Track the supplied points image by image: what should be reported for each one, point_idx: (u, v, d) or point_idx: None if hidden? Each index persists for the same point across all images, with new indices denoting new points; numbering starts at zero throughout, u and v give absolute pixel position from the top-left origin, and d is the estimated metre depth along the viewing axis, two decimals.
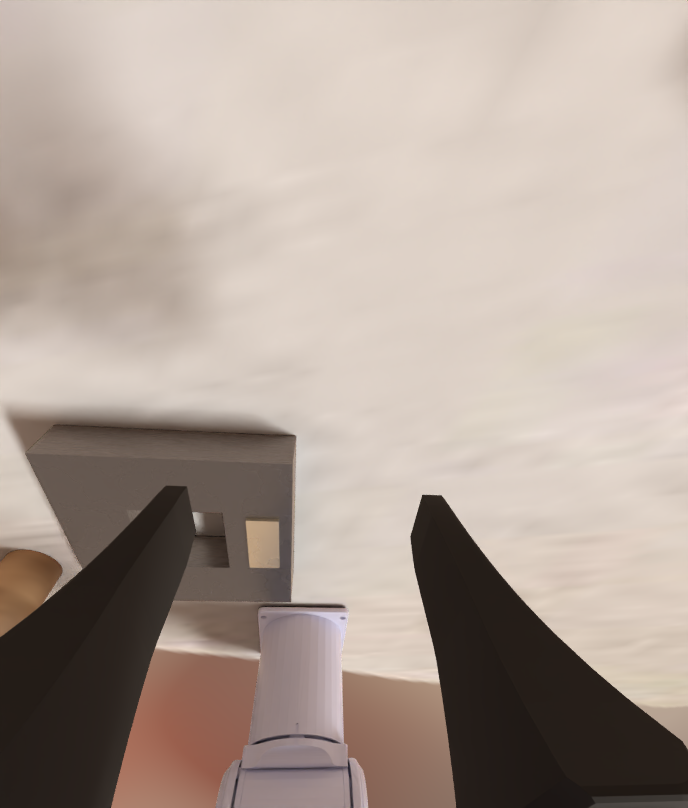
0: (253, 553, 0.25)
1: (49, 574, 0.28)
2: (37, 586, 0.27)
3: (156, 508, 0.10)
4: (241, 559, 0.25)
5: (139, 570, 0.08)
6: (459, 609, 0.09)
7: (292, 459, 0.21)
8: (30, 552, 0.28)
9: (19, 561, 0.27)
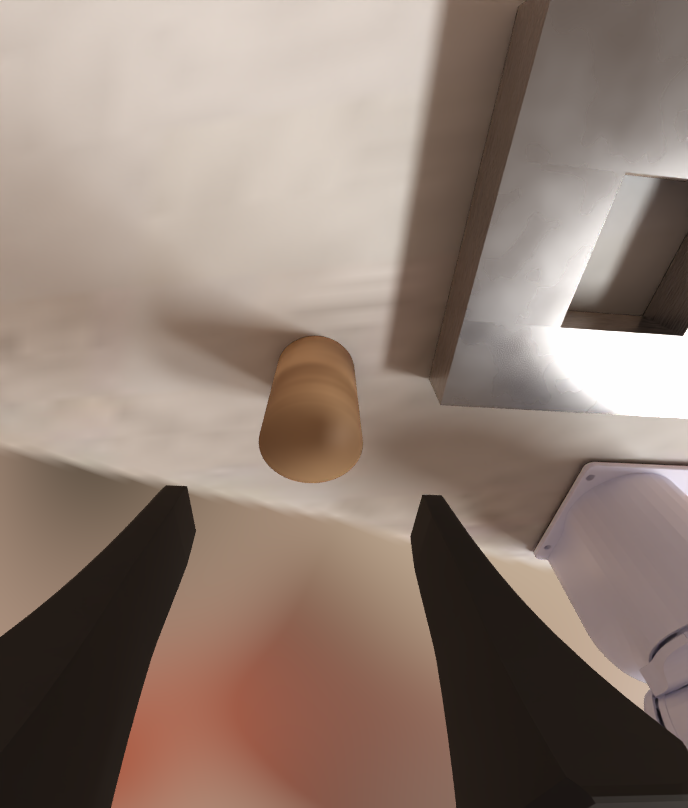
0: None
1: (354, 374, 0.18)
2: (354, 380, 0.17)
3: (156, 508, 0.10)
4: None
5: (139, 570, 0.08)
6: (459, 609, 0.09)
7: None
8: (328, 339, 0.18)
9: (322, 345, 0.18)
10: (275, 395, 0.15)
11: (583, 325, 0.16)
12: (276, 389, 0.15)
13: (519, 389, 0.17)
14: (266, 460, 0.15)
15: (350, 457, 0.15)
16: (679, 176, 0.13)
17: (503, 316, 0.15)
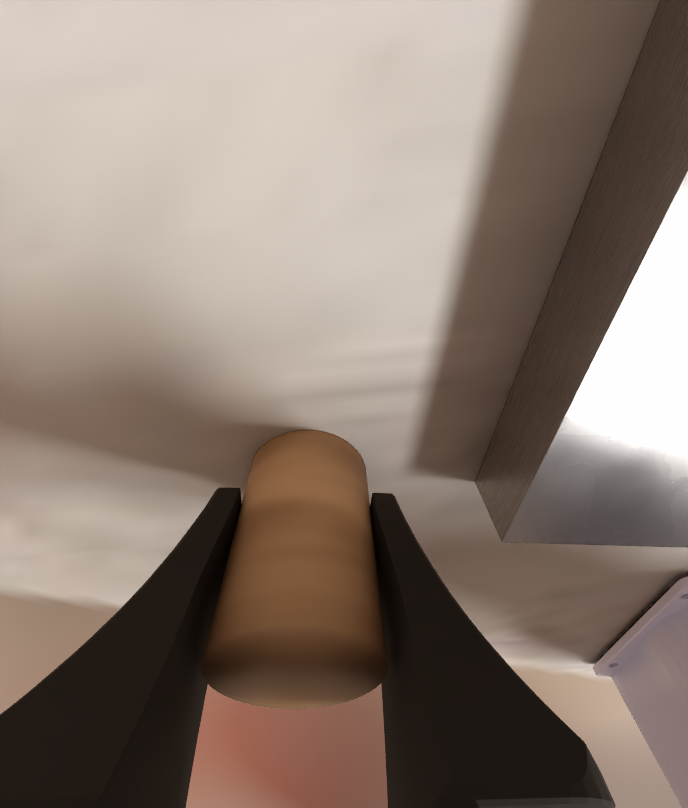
0: None
1: (367, 488, 0.12)
2: (368, 509, 0.11)
3: (215, 510, 0.10)
4: None
5: (208, 571, 0.09)
6: (394, 608, 0.09)
7: None
8: (326, 436, 0.12)
9: (318, 450, 0.11)
10: (234, 575, 0.08)
11: None
12: (237, 554, 0.09)
13: (627, 522, 0.11)
14: (218, 689, 0.08)
15: (365, 682, 0.08)
16: None
17: (624, 426, 0.09)
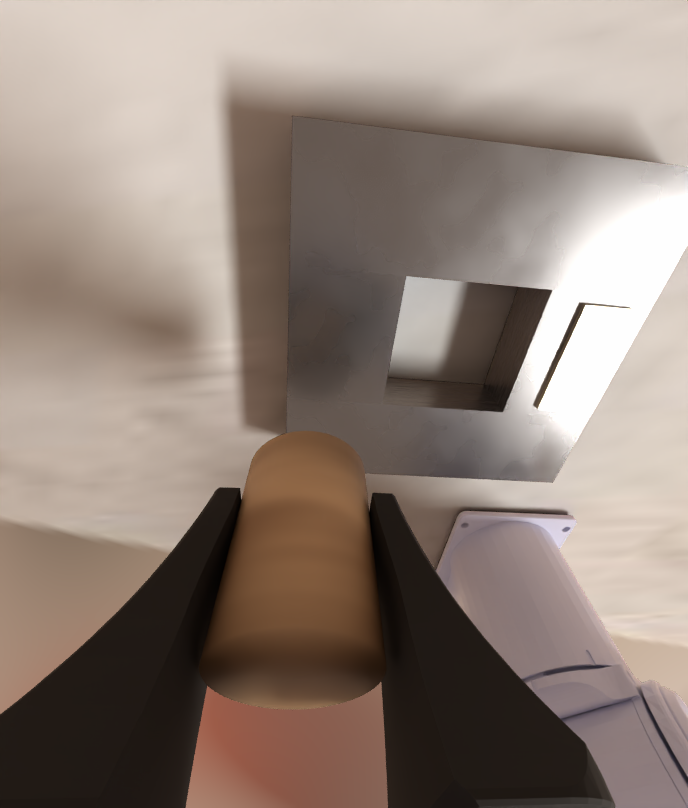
0: (559, 379, 0.16)
1: (366, 490, 0.12)
2: (367, 511, 0.11)
3: (215, 510, 0.10)
4: (528, 395, 0.17)
5: (208, 571, 0.09)
6: (394, 608, 0.09)
7: None
8: (327, 437, 0.12)
9: (318, 451, 0.11)
10: (233, 575, 0.08)
11: (409, 400, 0.17)
12: (237, 554, 0.09)
13: None
14: (215, 689, 0.08)
15: (362, 684, 0.08)
16: (458, 279, 0.14)
17: (324, 394, 0.16)
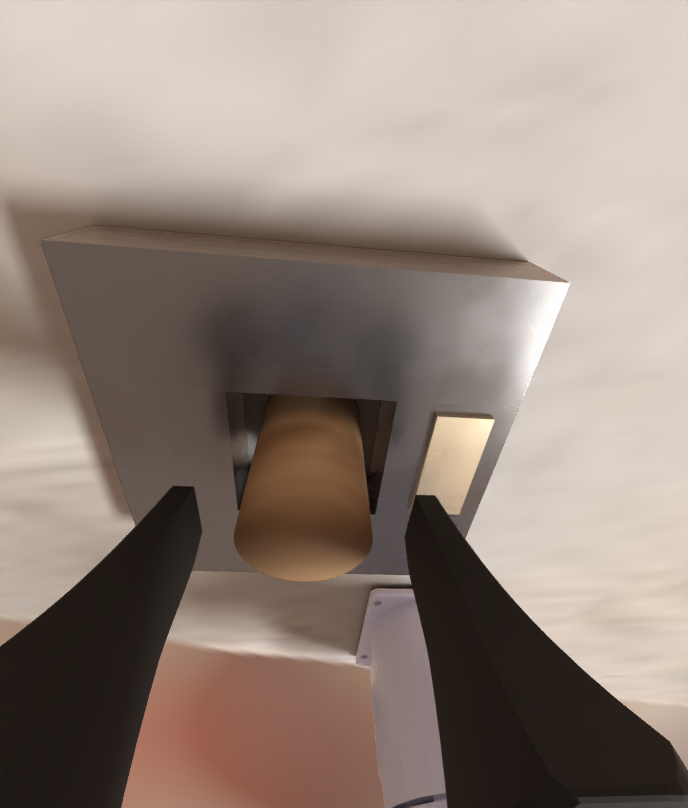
0: (427, 485, 0.14)
1: (360, 429, 0.15)
2: (360, 441, 0.14)
3: (164, 508, 0.10)
4: (399, 498, 0.15)
5: (148, 570, 0.09)
6: (450, 609, 0.09)
7: (560, 279, 0.11)
8: None
9: None
10: (259, 471, 0.11)
11: None
12: (260, 459, 0.12)
13: (226, 557, 0.17)
14: (243, 557, 0.11)
15: (355, 555, 0.11)
16: (287, 393, 0.12)
17: None
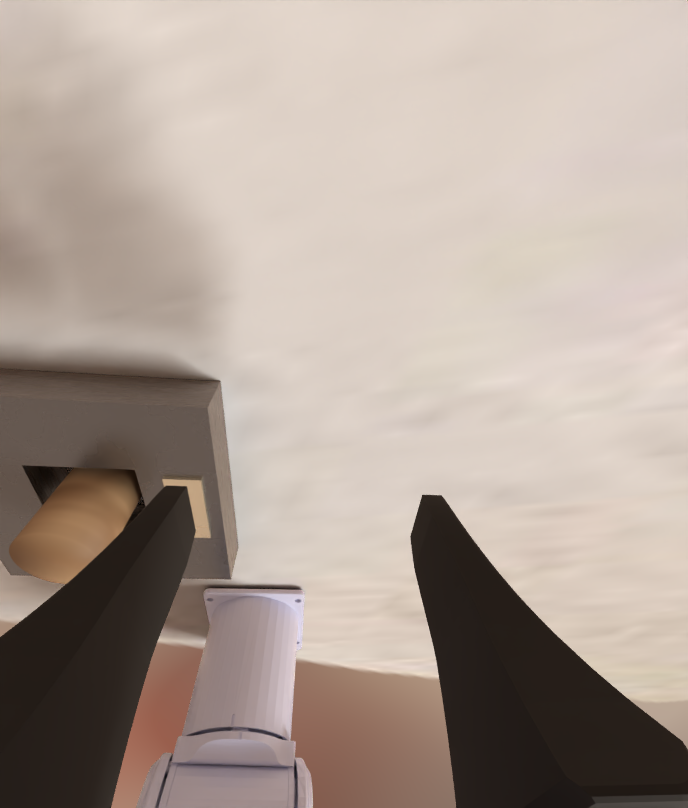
0: None
1: None
2: (128, 491, 0.21)
3: (156, 508, 0.10)
4: None
5: (139, 570, 0.08)
6: (459, 609, 0.09)
7: (208, 403, 0.18)
8: None
9: None
10: (32, 517, 0.18)
11: None
12: None
13: None
14: (23, 569, 0.18)
15: None
16: (61, 465, 0.19)
17: (10, 530, 0.22)
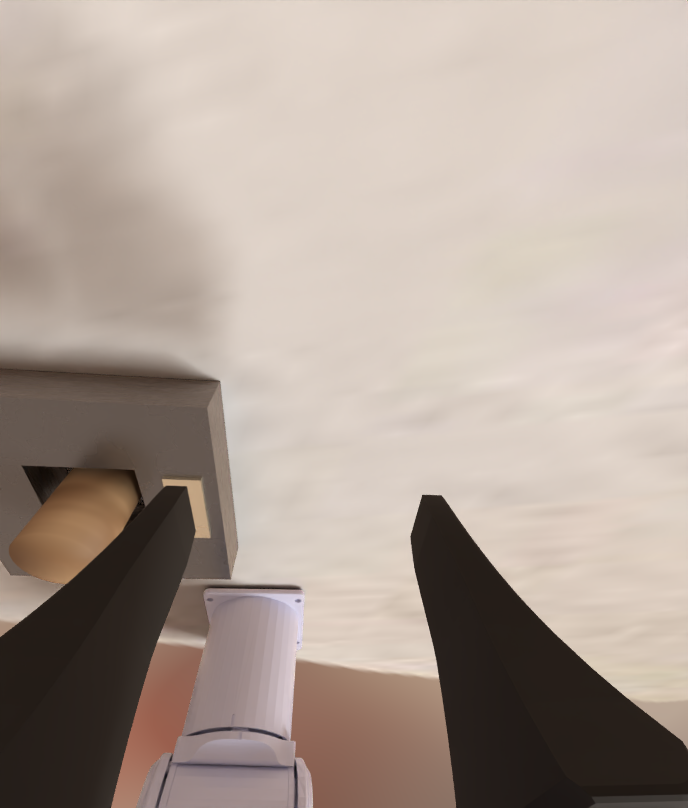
0: None
1: None
2: (128, 491, 0.21)
3: (156, 508, 0.10)
4: None
5: (139, 570, 0.08)
6: (459, 609, 0.09)
7: (208, 403, 0.18)
8: None
9: None
10: (32, 517, 0.18)
11: None
12: None
13: None
14: (23, 569, 0.18)
15: None
16: (61, 466, 0.19)
17: (10, 530, 0.22)
